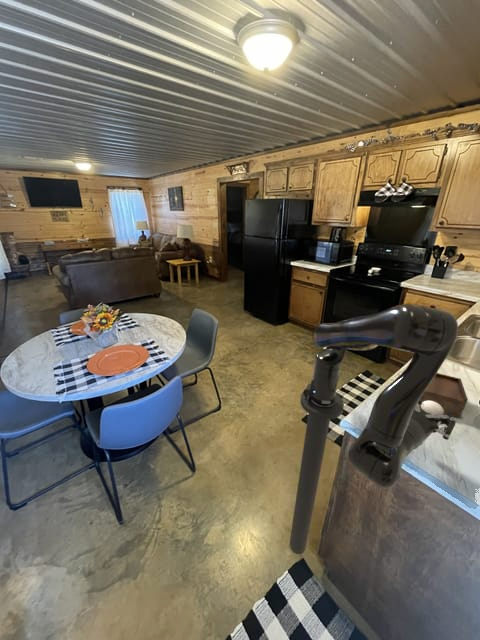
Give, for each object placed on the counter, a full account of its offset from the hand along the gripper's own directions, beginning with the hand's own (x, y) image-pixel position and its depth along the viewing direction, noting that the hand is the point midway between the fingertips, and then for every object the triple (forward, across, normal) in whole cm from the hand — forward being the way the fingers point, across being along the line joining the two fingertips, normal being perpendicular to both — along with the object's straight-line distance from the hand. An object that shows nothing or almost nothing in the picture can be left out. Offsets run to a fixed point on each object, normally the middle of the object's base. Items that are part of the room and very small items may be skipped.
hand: (435, 405), depth 76 cm
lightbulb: (-2, 0, +9) cm, 10 cm away
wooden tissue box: (+26, +7, +15) cm, 31 cm away
